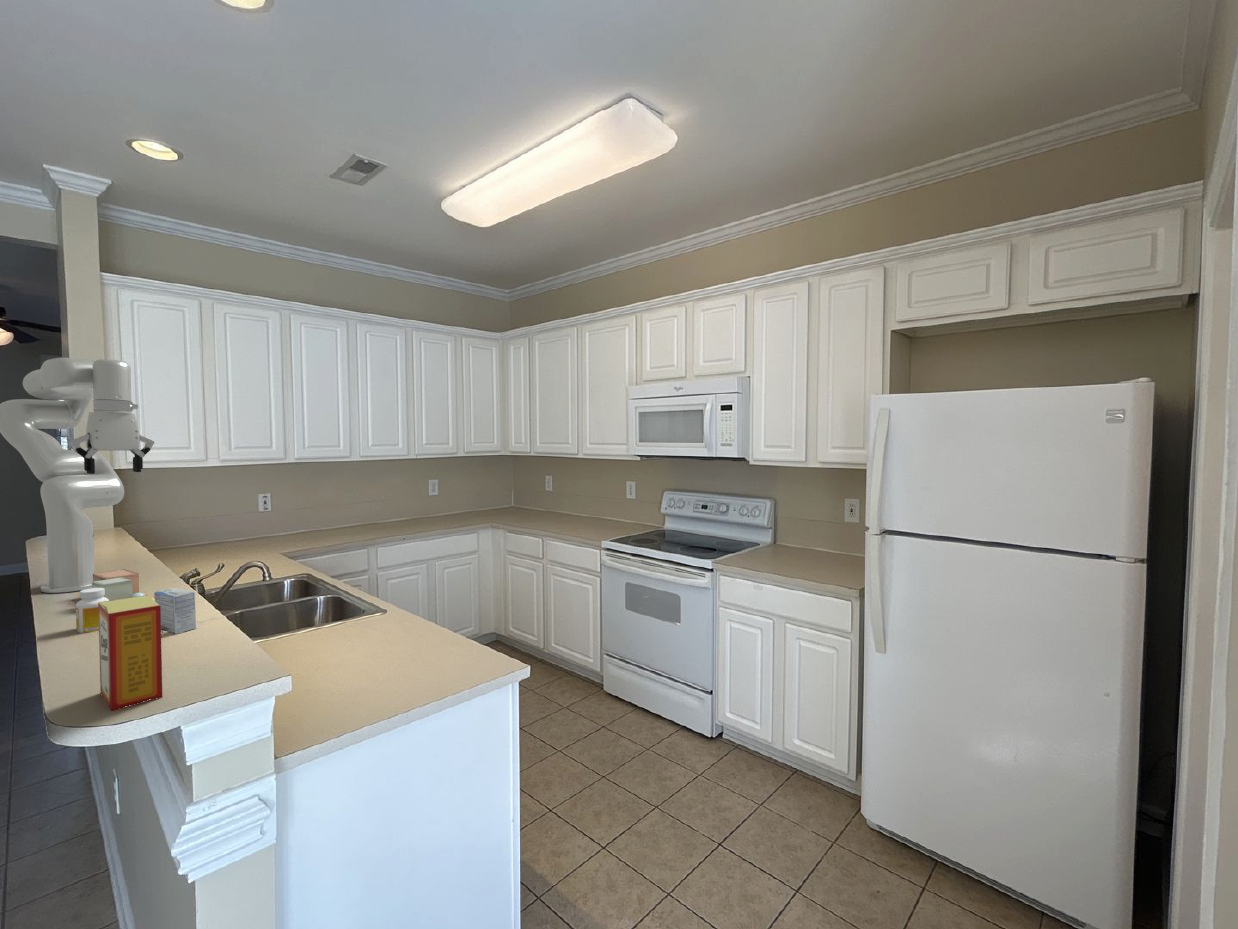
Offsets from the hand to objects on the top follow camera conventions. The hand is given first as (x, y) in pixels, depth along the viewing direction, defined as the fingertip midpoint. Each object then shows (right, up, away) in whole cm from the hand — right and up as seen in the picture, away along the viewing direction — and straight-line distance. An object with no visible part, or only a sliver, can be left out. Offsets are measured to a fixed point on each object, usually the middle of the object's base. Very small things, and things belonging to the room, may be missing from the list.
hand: (114, 472), depth 152 cm
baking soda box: (+51, -37, -55) cm, 83 cm away
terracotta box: (+2, -32, -2) cm, 32 cm away
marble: (+15, -32, -9) cm, 36 cm away
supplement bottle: (+18, -35, -26) cm, 47 cm away
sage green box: (+7, -33, -9) cm, 35 cm away
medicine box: (+33, -35, -22) cm, 53 cm away
